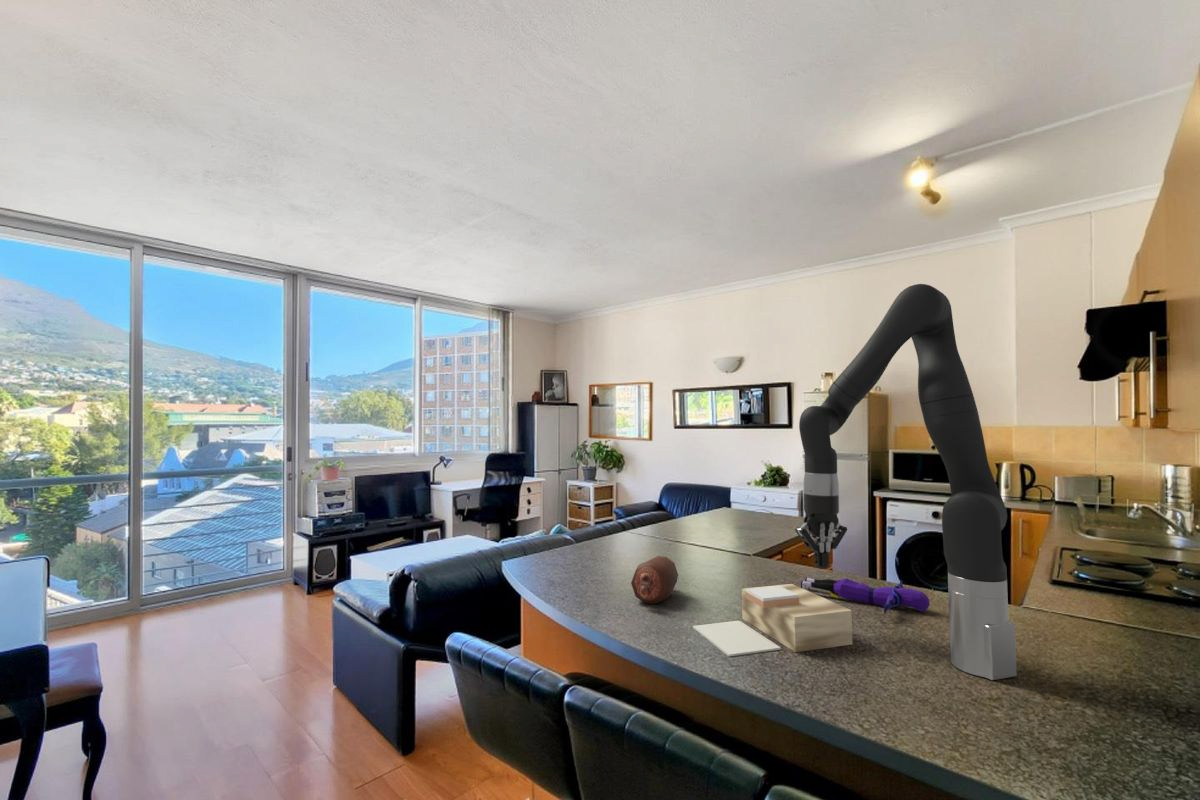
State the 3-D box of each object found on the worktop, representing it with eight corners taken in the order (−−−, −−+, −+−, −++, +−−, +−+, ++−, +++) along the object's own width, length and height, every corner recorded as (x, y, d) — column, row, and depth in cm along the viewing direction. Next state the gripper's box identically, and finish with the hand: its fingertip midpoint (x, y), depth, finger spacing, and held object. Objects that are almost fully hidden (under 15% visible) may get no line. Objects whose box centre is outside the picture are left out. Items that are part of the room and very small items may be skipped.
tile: (799, 604, 116) (799, 594, 116) (763, 608, 113) (763, 598, 113) (779, 594, 122) (779, 585, 122) (745, 598, 120) (745, 589, 120)
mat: (780, 649, 109) (780, 647, 109) (728, 656, 105) (728, 654, 105) (739, 622, 124) (739, 620, 124) (692, 627, 121) (692, 625, 121)
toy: (788, 607, 137) (923, 632, 119) (787, 585, 137) (922, 607, 119) (817, 582, 159) (935, 600, 141) (817, 563, 159) (934, 579, 141)
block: (852, 644, 111) (851, 610, 112) (795, 652, 107) (794, 617, 108) (792, 612, 130) (792, 583, 131) (742, 618, 127) (741, 588, 127)
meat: (647, 586, 153) (647, 550, 154) (686, 591, 148) (686, 554, 149) (622, 606, 135) (622, 565, 136) (665, 612, 130) (665, 570, 131)
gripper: (807, 495, 117) (808, 574, 117) (856, 493, 121) (857, 570, 120) (786, 491, 125) (786, 565, 124) (833, 489, 128) (834, 561, 127)
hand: (821, 567), depth 122 cm, fingers closed
